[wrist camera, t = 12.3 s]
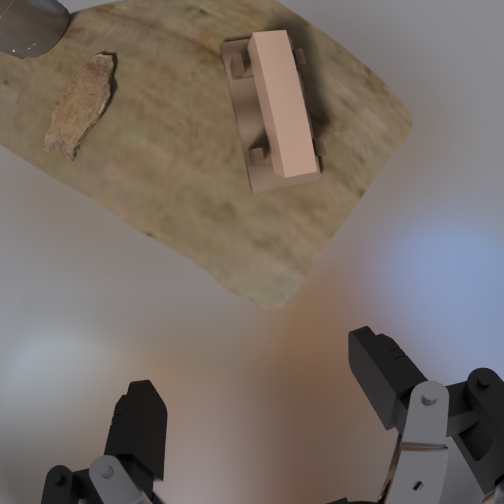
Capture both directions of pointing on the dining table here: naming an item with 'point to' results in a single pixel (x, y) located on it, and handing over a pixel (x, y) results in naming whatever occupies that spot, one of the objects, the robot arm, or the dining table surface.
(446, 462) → the robot arm
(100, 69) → the pottery shard
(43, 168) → the dining table surface
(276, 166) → the clay bar
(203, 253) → the dining table surface
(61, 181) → the dining table surface
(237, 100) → the brown cradle stand
